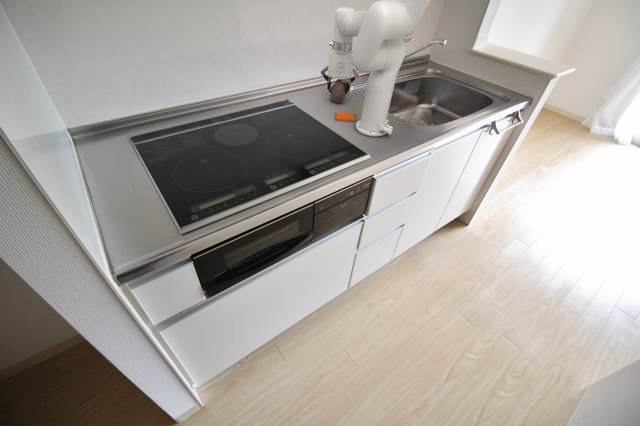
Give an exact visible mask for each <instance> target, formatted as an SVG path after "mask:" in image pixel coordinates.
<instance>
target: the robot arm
mask: <svg viewBox="0 0 640 426" xmlns="http://www.w3.org/2000/svg"><path fill="white" fill-rule="evenodd" d="M430 2H431V0H375V1H374V2H373V3H372V4H371V5H370V6H369V8H368V9H367V10H355V9H354V8H352V7H347V6H340V7H337V8H336V10H335V13H334V26H333V27H334V29H333V38H332V39H333V40H332V41H329V46H330V47H331V49H330V52H329V57H328V63H327V65H326V66H325V67H324V68H322V69H321V70H320V74H321V76H322V77H323V79H324V80H325V81H326V82H327V87H326V89H327V91H328V93H329V94H330V90H331V87H332V79H346V80H347V85H346V95H348V93H349V92H350V90H351V89H350V88H351V84H352V83H353V82H355V80H357V78H358V77H359V76H360V73H359V72H362V73H366V72H370V73H369V75H368V78H367V81H366V86H365V92H364V97H363V104H362V110H361V116H360V119H359V120H358V121H356V123H355V130H357V132H359V134H360V133H361V134H362V135H365V136H368V137H382V136H385V135H387V134H388V135H392V133H393V131H394V127H393V126H392V125H389V122H390V120H389V119H387V118H388V114H389V109H390V106H391V102H392V98H393V93H394V89H395V85H396V81H397V77H398V75H399V72H400V69H401V67H402V64H403V62H404V59H405V56H406V44H405V42H404V40H403V39H404V38H408V37H409V36H411V35H412V34H413V32H414V31H415V30H416V28H417V26H418V24H419V23H420V21H421V19H422V17H423V15H424V14H425V12H426V10H427V8H428V6H429V4H430ZM354 38H356V39H355V42H354V44H353V41H354ZM358 71H359V72H358ZM326 72H327V74H326ZM353 74H354V75H353Z"/></svg>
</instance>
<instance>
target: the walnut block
mask: <svg viewBox="0 0 640 426" xmlns="http://www.w3.org/2000/svg"><path fill="white" fill-rule="evenodd" d="M336 80H341V81H342V83H343V85H344V86H345V89H346V85H347V79H344V78H336Z"/></svg>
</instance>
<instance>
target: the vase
mask: <svg viewBox="0 0 640 426" xmlns="http://www.w3.org/2000/svg"><path fill="white" fill-rule="evenodd" d="M346 95H347V94H346V89H345V86H344V85H343V83H342V81H341V80H337V79H336V80H335V82H334V83H333V84H332V85H331V89H330V93H329V98H330V100H331V101H332V102H333V103H335V104H340V103H342V102H344V100H345V99H346Z"/></svg>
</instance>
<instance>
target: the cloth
mask: <svg viewBox="0 0 640 426" xmlns="http://www.w3.org/2000/svg"><path fill="white" fill-rule="evenodd" d="M335 114H336V115H335V117H336V118H335V120H336V121H342V122H343V121H344V122H355V113H354V112H345V111H336V113H335Z"/></svg>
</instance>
